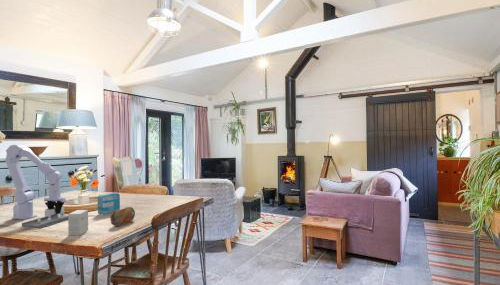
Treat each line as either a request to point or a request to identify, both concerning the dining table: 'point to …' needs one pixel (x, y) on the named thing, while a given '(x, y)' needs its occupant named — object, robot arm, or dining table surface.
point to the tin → (122, 216)
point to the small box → (77, 222)
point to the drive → (53, 211)
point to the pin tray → (45, 221)
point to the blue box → (108, 203)
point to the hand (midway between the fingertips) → (54, 213)
